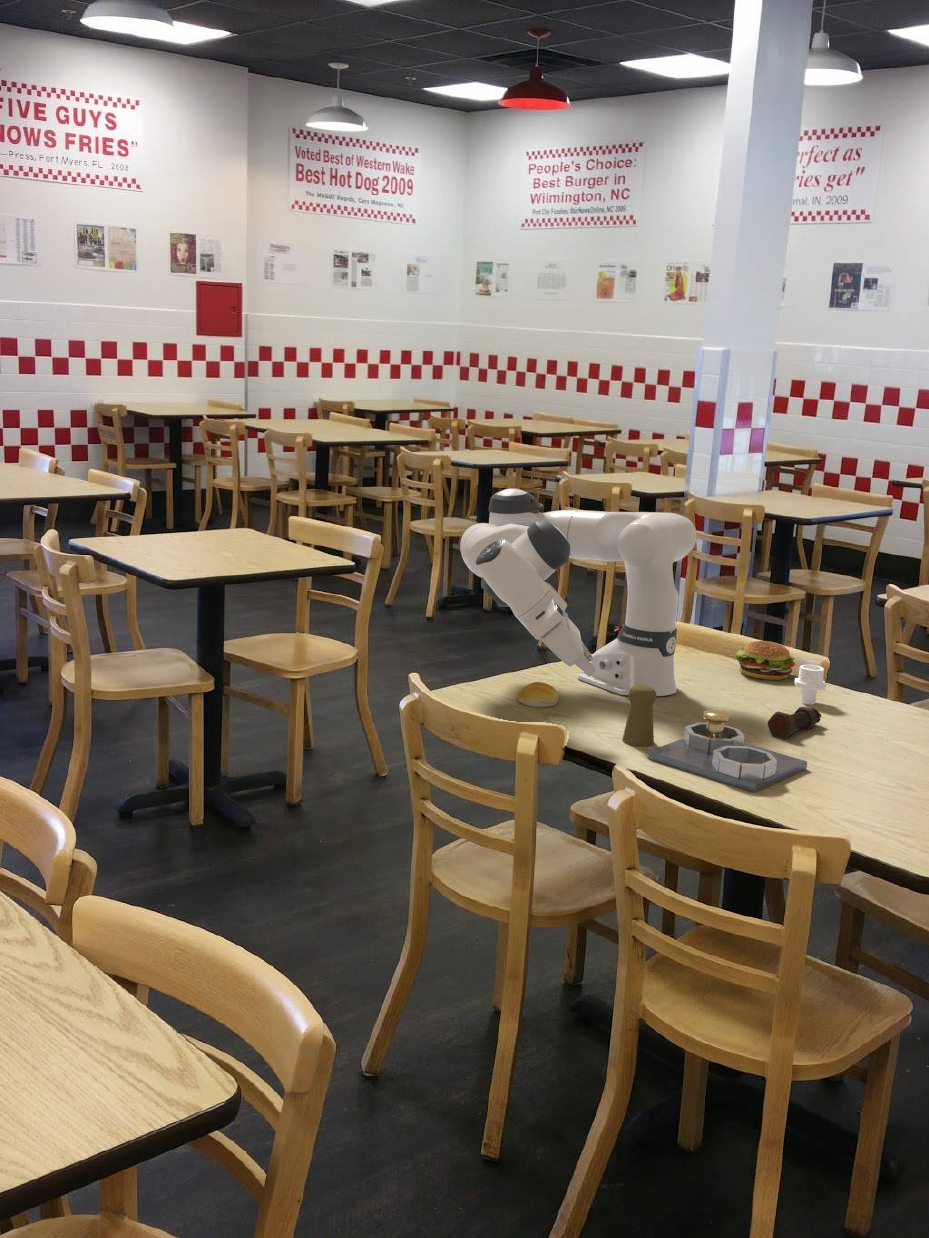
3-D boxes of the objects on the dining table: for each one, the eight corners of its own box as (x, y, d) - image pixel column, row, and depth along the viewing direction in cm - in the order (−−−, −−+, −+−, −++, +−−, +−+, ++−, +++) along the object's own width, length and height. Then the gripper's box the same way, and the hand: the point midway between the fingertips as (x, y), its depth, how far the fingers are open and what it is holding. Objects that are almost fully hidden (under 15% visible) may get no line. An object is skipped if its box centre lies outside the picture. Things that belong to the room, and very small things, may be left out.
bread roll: (514, 706, 248) (516, 687, 247) (523, 694, 256) (524, 677, 255) (554, 711, 246) (555, 692, 245) (561, 699, 254) (562, 681, 253)
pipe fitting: (830, 705, 261) (834, 670, 259) (802, 707, 258) (806, 671, 257) (812, 697, 267) (817, 663, 265) (785, 698, 264) (789, 664, 262)
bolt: (815, 733, 247) (780, 745, 236) (798, 717, 249) (762, 728, 238) (832, 713, 244) (797, 724, 233) (814, 696, 246) (778, 707, 235)
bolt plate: (647, 758, 219) (651, 719, 217) (702, 738, 233) (706, 701, 231) (754, 792, 204) (759, 751, 203) (806, 769, 218) (811, 730, 217)
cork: (634, 748, 224) (639, 692, 222) (616, 738, 230) (621, 683, 227) (660, 744, 227) (665, 689, 225) (641, 735, 232) (646, 681, 230)
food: (747, 663, 295) (751, 632, 293) (801, 675, 286) (805, 643, 284) (721, 672, 284) (725, 640, 282) (776, 685, 276) (780, 652, 274)
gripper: (530, 611, 234) (576, 663, 236) (531, 636, 214) (581, 692, 216) (555, 591, 233) (600, 643, 235) (558, 613, 213) (607, 670, 215)
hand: (591, 667), depth 225 cm, fingers open, 8 cm apart
